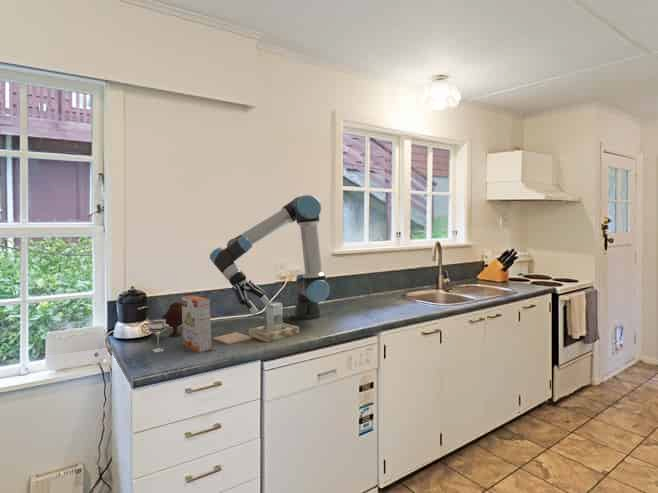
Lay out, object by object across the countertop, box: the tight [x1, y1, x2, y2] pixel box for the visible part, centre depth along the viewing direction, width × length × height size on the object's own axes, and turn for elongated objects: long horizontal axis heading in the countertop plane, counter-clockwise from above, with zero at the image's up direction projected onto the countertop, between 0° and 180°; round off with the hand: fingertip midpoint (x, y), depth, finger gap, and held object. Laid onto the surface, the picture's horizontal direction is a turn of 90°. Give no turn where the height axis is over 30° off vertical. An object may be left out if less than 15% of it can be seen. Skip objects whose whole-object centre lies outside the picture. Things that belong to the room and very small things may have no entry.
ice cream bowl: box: [161, 301, 183, 338], centre depth 189 cm, size 11×11×15 cm
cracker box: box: [181, 294, 212, 354], centre depth 170 cm, size 14×6×21 cm, turn 45°
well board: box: [248, 322, 300, 343], centre depth 189 cm, size 18×14×3 cm
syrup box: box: [264, 301, 284, 332], centre depth 189 cm, size 6×6×14 cm
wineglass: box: [148, 318, 168, 353], centre depth 168 cm, size 7×7×12 cm
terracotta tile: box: [212, 331, 253, 346], centre depth 183 cm, size 12×12×1 cm
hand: (263, 310), depth 189 cm, fingers open, 13 cm apart
